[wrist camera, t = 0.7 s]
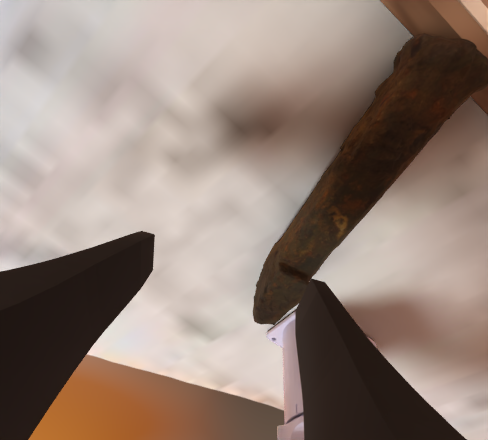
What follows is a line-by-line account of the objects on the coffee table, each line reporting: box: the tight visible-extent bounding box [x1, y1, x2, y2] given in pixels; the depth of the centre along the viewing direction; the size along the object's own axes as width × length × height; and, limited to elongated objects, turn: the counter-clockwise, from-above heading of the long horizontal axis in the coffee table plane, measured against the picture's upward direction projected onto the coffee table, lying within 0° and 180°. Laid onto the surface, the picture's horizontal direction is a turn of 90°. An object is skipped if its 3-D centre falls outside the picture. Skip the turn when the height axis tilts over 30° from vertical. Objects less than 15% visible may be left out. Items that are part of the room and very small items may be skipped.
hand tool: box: [253, 33, 488, 325], centre depth 16 cm, size 23×5×6 cm, turn 151°
